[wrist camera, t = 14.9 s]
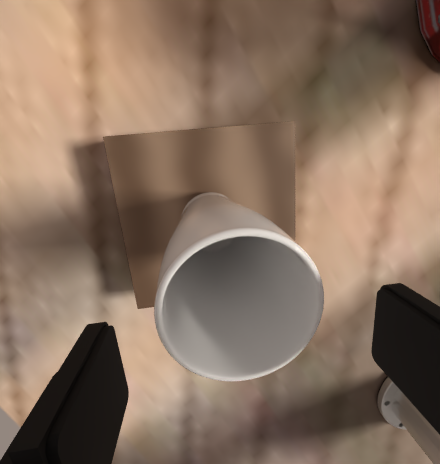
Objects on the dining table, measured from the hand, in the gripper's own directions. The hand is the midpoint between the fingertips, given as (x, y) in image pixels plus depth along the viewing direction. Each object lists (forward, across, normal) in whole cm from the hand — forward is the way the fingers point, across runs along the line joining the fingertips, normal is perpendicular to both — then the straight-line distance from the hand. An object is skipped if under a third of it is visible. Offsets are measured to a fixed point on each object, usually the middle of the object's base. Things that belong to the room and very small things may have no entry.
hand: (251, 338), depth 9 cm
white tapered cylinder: (+16, 0, 0) cm, 16 cm away
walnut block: (+20, 0, 0) cm, 20 cm away
